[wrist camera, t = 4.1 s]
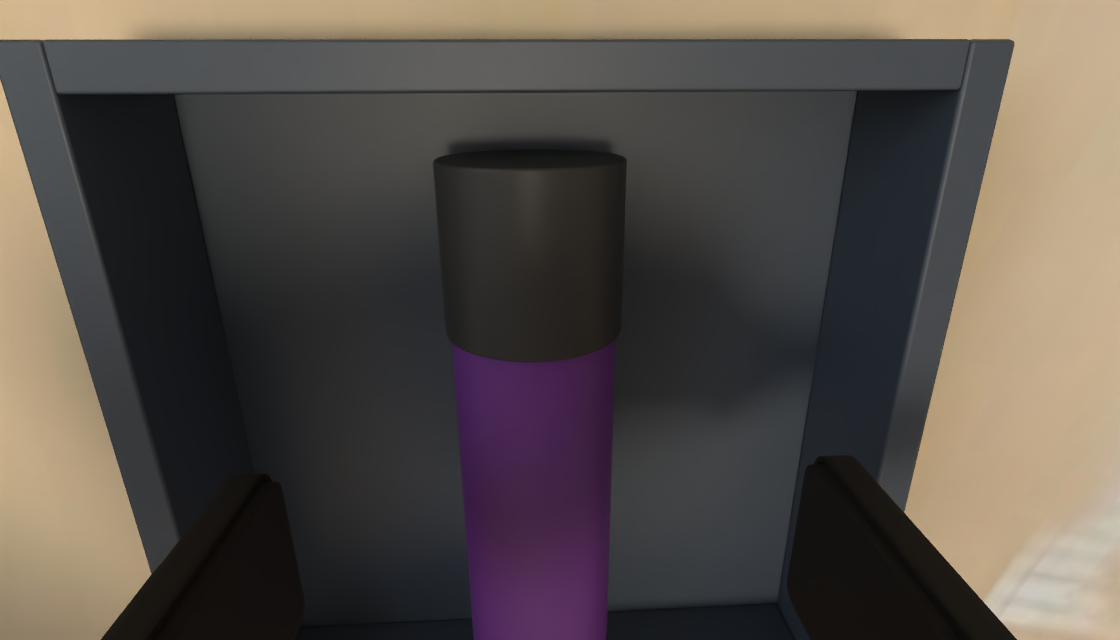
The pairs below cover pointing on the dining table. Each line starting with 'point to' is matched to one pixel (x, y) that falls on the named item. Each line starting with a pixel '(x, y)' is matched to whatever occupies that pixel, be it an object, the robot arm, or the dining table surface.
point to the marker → (534, 379)
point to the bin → (417, 296)
